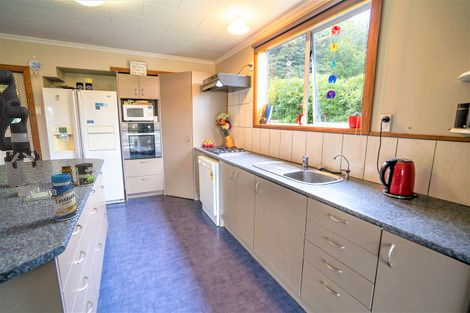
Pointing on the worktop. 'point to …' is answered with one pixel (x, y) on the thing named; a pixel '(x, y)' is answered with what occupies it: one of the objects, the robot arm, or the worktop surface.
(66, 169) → the condiment
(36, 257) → the worktop surface
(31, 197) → the pale green pegged board
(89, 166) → the coffee can
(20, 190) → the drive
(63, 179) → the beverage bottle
